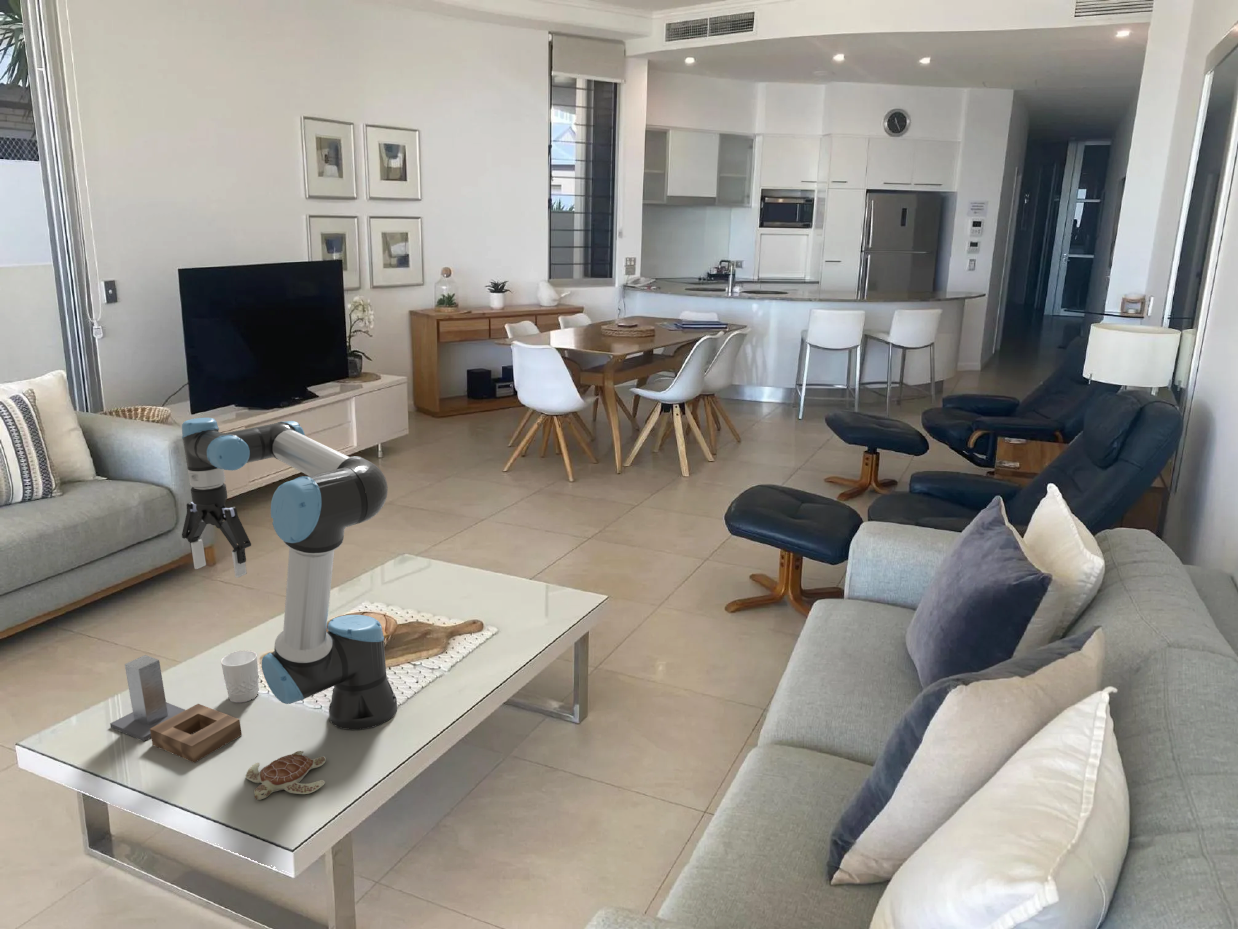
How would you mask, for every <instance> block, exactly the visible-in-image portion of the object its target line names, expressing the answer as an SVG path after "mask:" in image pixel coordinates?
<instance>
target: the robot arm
mask: <svg viewBox="0 0 1238 929" xmlns="http://www.w3.org/2000/svg"><path fill="white" fill-rule="evenodd" d="M181 433H182V434H181V435H182V436H181V439H182V442H183V448H184V454H185V460H186V465H187V466H186V467H187V472H188V480H189V486H190V487H191V488H190V495H191V496H190V497H191V501H190V502H187V503H186V514H185V515H186V516H185V519H184V524H183V528H182V532H181V537H182V539H184V540H185V539H186V540H187V542H188V543H189V547H190V552H191V555H192V559H193V560H192V561H193V566H194V568H193V569H195V570H198V569H201V568H202V567H206V566H207V562H206V553H205V548H204V542H203V539H202V534H203V533H204V530H205V529H206V526H207V525H211V526H215V528H217V529H219V530H220V531H221V533H222V534H223V536H224V537H225V538H226V540H227V542H228V543H229V544H230V545H231V547H232V550H231V556H232V563H233V570H234V577H235V578H236V579H238V578H241V577H242V576H245V575H247V574H248V572H247V567H246V566H247V565H246V562H247V557H246V556H247V555H246V549H247V548H249V547H252V543H251V541H250V539H249V536H248V534H247V532H246V529H245V527H244V526H243V524H242V522H241V520H240V517H239V515H238V510H237V508H236V506H232V507H226V506H227V505H226V504H225V503H226V501H227V499H228V491H227V484H226V483H225V482H226V475H225V471H237V470H240V469H241V468H243V467H244V466H245V465H246V464H249V463H253V462H258V461H263V460H268V459H272V458H273V459H275V460H278V461H280V462H282V463H284V464H286V465H288V466H290V467H292V468H293V469H295V470H297V471H299V472H301V473H303V474H304V476H299V477H296V478H294V479H292V480H289V481H288V480H287V481H286V482H283V483H282V484H280V485H279V486H278V487H277V488H276V490H275V491H274V493H273V495H272V498H271V502H270V518H271V519H272V526H273V529H274V532H275V533H276V535H277V536H278V538H279V539H280V540H282V542H283V543H284V545H285V546H286V547H287V548H288V549H289V550H288V563H287V574H286V575H287V578H286V587H285V588H286V591H285V603H284V604H285V605H284V616H283V617H284V619H283V630H282V631H281V632H280V633H279V634H278V635H277V636H276V638H275V641H274V648H273V649H274V651H273V652H268V653H267V654H266V655H264V656H263V657H262V658H261V668H262V669H261V670H262V674H263V676H264V679H265V681H266V684H267V685H268V688H269V689H270V692H271V693H272V694H273V696H275V698H276V699H277V700H278V701H279V702H281V703H283V704H286V705H292V704H294V703H297V702H300V701H305V699H307V698H310V697H312V696H314V695H317V694H319V693H322V692H323V691H325V690H328V689H331V688H333V690H332V695H331V701H330V702H329V706H328V715H329V721H330V722H331V724H332V725H333V726H334V727H337V728H340V729H344V730H348V731H349V730H351V731H352V730H353V731H355V730H356V731H357V730H367V729H371V728H374V727H378V726H380V725H383V724H385V723H386V722H388V721H389V720H390V719H392V718H393V717H394V715H395V714H396V713H397V710H398V703H397V702H398V701H397V697H396V694H395V693H394V691H393V688H392V686H391V684H390V682H389V680H388V677H387V667H386V666H387V664H386V663H387V662H386V655H385V653H386V652H385V641H384V640H385V636H384V632H383V627H382V624H381V622H380V621H379V620H377V619H376V618H374V617H373V616H369V615H364V614H346V615H339V616H337V617H334V618H332V619H331V620H330V621H329V622H328V618H329V606H330V598H331V587H332V578H333V570H334V569H333V566H334V559H335V558H334V556H335V550H338V549H339V548H340V547H341V546H342V545H343V542H344V536H345V535H344V534H345V529H347V528H348V527H352V526H354V525H358V524H361V523H364V522H367V521H369V520H371V519H372V518H374V517H375V516H376V515H378V513H380V511H381V510H382V509H383V507H384V506H385V504H386V501H387V497H388V482H387V479H386V476H385V474H384V472H383V471H382V470H381V469H380V467H378V466H377V465H376V464H375V463H373V462H372V461H369V460H368V459H365V458H364V457H361V456H348V455H347V454H344V453H342V452H340V451H338V450H336V449H333V448H332V447H329V446H327V445H325V444H323V443H321V442H319V441H317V440H314V439H313V438H310V437H308V436H307V435H306V434H305V431H304V429H303V427H302V426H301V425H300V424H299V422H298V421H294V420H288V421H279V422H278V421H277V422H276V423H271V424H269V423H268V424H265V425H260V426H256V427H255V426H254V427H251V428H245V429H240V430H234V431H228V432H221V431H220V428H219V425H218V421H217V420H216V419H215V418H214V417H213V418H212V417H195V418H191V419H187V420H185V421H183V423H181Z"/></svg>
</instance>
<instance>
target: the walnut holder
mask: <svg viewBox="0 0 1238 929" xmlns="http://www.w3.org/2000/svg"><path fill="white" fill-rule="evenodd" d="M150 733H151V738H150V739H151V744H152V746H154V747H156V748H158V749H161V750H164V751H165V750H166V751H165V752H168V753H170V754H172V753H173V754H172V755H175V756H178V757H179V756H180V758H182V759H184V760H187V761H188V762H191V763H194V764H195V763H196V762H199V761H200V760H202V759H203V758H206V757H207V756H209V755H210V754H212V753H214V752H215V751H218V750H219V749H222V747H224V746H226V745H228V744H229V743H231V742H233V741H235V740H236V739H238V738H240V737H241V736H243V734H242V727H241V719H240V718H237V717H234V716H233V715H232V716H231V715H229V714H226V713H224V712H221V711H219V710H216V709H213V708H211V707H208V706H206V705H203V704H200V703H197V704H194V705H193V706H191V707H189V708H187V709H185V711H183V712H181V713H179V714H177V715H175V716H173V717H172V718H170V719H168V720H166V721H164V722H162V723H160V724H158V725H156V726H154V727H152V728H150Z"/></svg>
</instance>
